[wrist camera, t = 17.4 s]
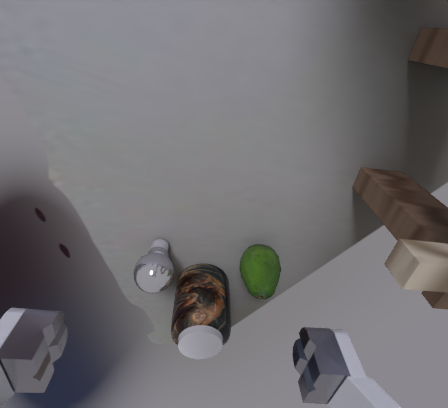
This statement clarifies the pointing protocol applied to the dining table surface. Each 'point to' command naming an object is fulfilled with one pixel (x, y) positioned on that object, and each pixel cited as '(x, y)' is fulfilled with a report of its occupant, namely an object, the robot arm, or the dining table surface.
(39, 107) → the dining table surface
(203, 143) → the dining table surface
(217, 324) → the jar
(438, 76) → the dining table surface
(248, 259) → the avocado
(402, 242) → the birch bar
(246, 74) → the dining table surface
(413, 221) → the walnut shelf
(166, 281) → the light bulb
